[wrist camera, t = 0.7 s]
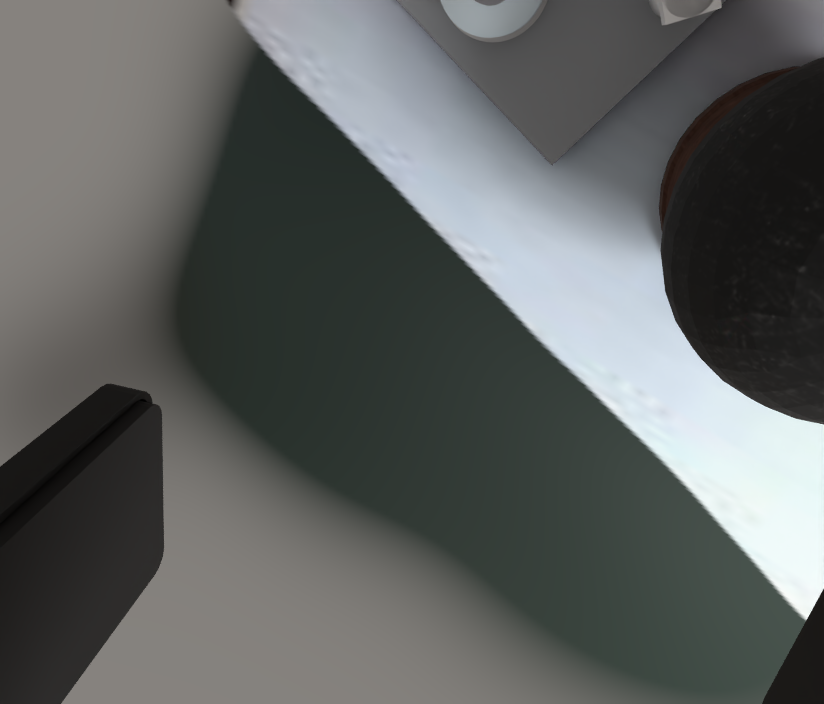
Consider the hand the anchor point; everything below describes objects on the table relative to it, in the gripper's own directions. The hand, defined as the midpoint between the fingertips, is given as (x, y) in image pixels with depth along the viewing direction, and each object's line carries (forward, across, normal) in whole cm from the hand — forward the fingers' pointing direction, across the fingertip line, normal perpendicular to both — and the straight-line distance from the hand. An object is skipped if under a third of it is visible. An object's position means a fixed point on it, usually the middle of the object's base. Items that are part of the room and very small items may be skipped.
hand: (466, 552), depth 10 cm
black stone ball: (+28, -12, -1) cm, 30 cm away
